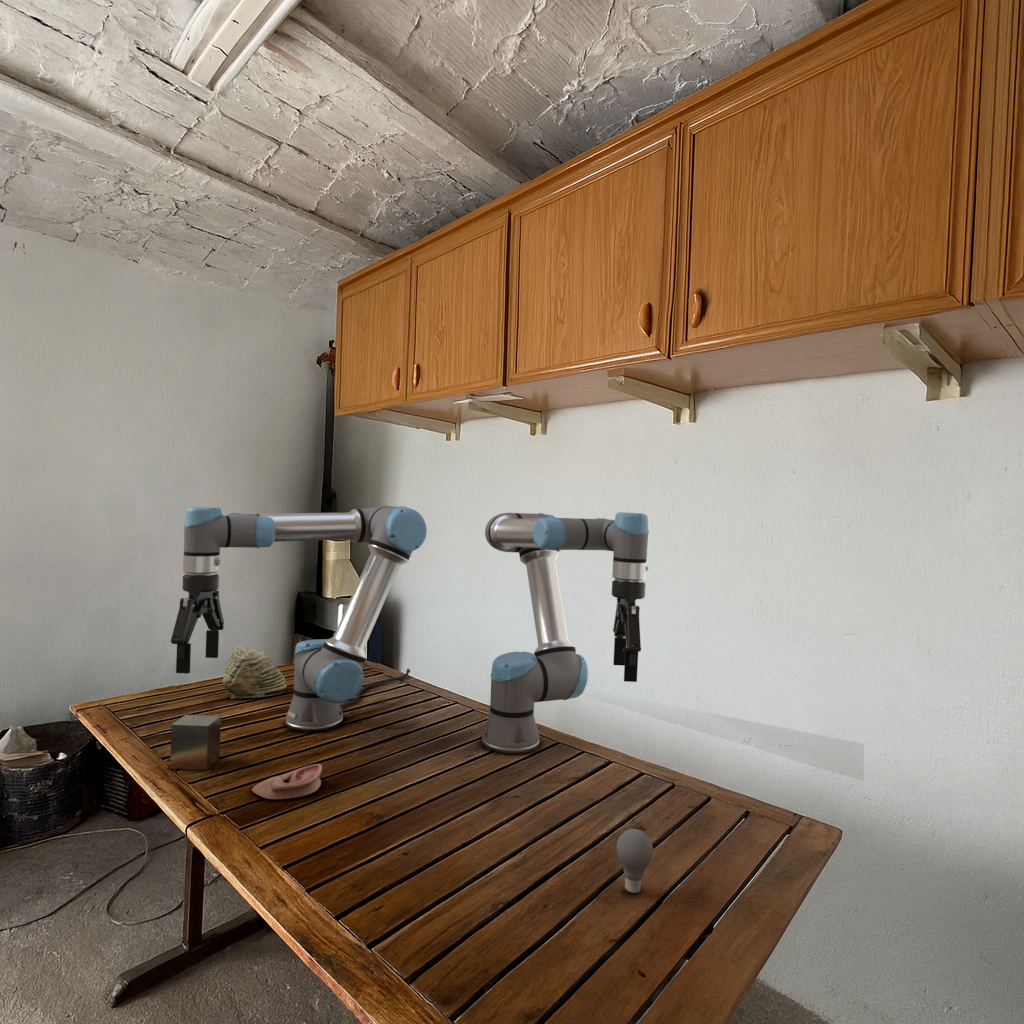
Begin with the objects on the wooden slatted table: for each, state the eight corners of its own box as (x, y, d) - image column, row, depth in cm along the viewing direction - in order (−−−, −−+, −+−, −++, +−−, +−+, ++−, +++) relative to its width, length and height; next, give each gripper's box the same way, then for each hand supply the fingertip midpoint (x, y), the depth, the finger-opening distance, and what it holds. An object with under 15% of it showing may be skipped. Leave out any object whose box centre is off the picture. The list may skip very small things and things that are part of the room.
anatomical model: (244, 776, 132) (275, 755, 144) (243, 795, 132) (274, 772, 144) (301, 785, 130) (329, 762, 141) (301, 804, 130) (328, 780, 141)
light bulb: (610, 879, 108) (613, 822, 108) (644, 879, 109) (647, 822, 109) (619, 902, 102) (622, 840, 102) (655, 901, 103) (658, 840, 103)
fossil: (218, 695, 195) (220, 647, 195) (278, 685, 208) (279, 640, 207) (228, 703, 189) (230, 653, 188) (289, 692, 201) (290, 645, 201)
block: (169, 768, 144) (171, 724, 144) (184, 757, 150) (185, 714, 150) (206, 770, 144) (208, 725, 144) (219, 758, 150) (221, 716, 150)
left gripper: (190, 581, 134) (187, 680, 134) (240, 568, 159) (237, 652, 159) (154, 579, 134) (151, 679, 134) (210, 567, 159) (207, 651, 159)
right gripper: (658, 588, 132) (653, 689, 132) (634, 574, 157) (630, 659, 157) (622, 586, 132) (617, 688, 132) (604, 573, 157) (600, 658, 157)
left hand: (198, 665), depth 147 cm, fingers open, 13 cm apart
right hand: (624, 672), depth 145 cm, fingers open, 13 cm apart
